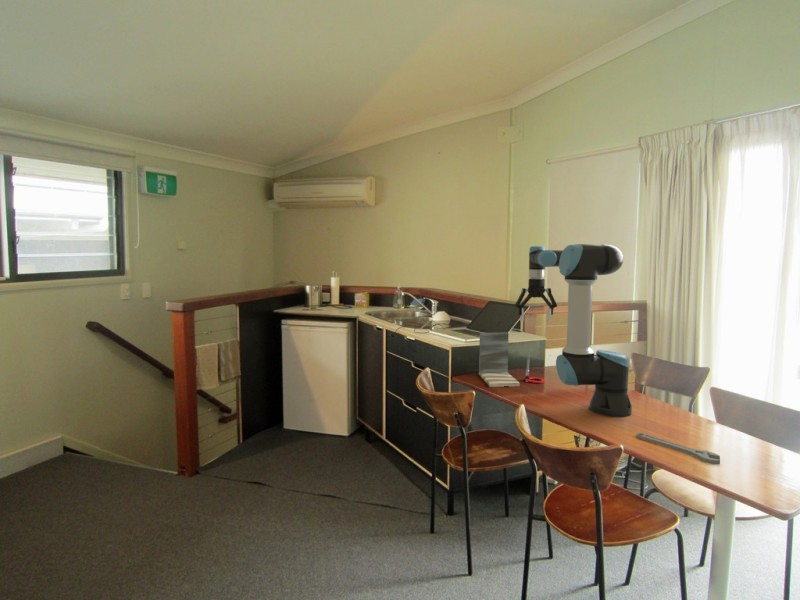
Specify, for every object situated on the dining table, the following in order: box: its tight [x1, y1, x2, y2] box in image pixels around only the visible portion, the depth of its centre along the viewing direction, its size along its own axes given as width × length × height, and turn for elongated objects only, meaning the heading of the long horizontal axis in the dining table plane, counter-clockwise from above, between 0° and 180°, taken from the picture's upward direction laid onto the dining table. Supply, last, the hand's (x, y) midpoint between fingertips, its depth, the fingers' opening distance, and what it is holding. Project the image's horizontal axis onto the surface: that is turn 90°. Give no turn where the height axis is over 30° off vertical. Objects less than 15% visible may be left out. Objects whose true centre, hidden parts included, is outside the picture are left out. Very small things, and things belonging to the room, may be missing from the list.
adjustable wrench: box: [636, 432, 721, 465], centre depth 149 cm, size 25×6×2 cm, turn 30°
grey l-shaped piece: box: [478, 331, 521, 388], centre depth 227 cm, size 22×14×22 cm, turn 3°
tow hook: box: [524, 354, 546, 384], centre depth 225 cm, size 8×13×9 cm
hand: (535, 321), depth 229 cm, fingers open, 13 cm apart
